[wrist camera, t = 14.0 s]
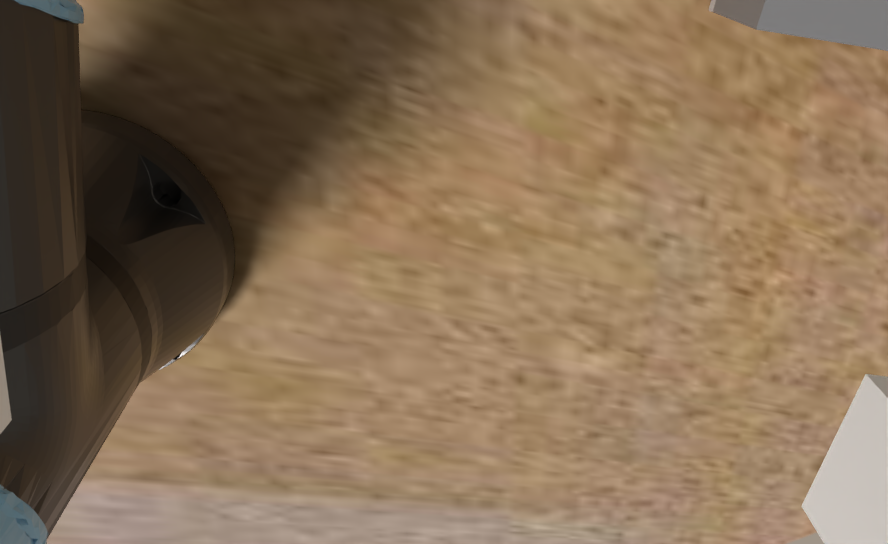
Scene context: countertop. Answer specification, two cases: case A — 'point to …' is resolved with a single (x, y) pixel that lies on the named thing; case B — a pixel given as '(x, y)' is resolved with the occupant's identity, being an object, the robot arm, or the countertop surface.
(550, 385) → the countertop surface
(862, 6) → the well
